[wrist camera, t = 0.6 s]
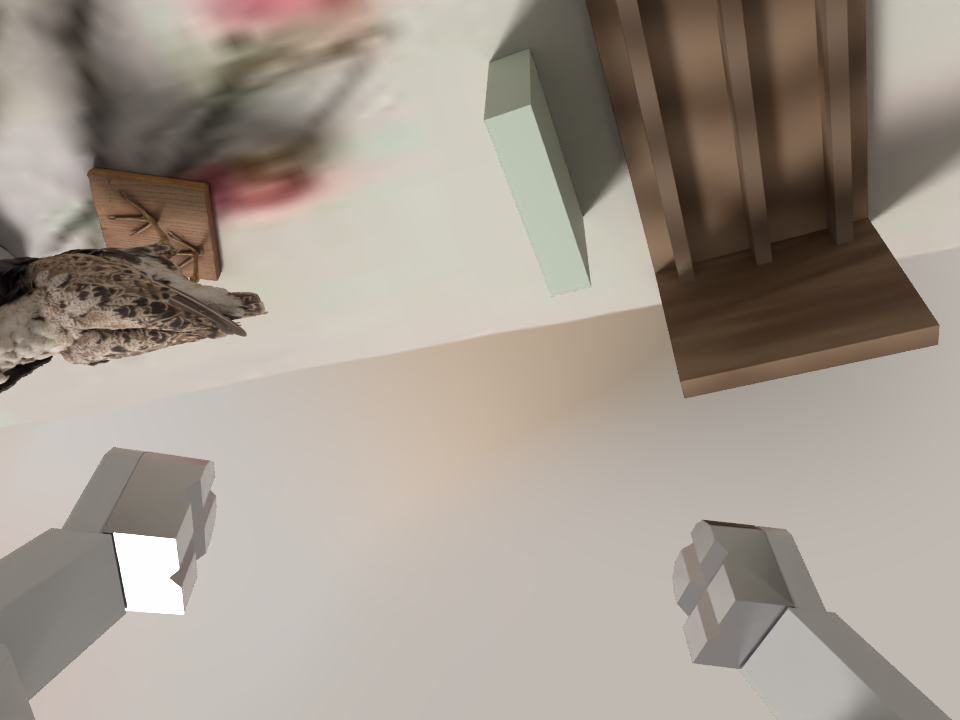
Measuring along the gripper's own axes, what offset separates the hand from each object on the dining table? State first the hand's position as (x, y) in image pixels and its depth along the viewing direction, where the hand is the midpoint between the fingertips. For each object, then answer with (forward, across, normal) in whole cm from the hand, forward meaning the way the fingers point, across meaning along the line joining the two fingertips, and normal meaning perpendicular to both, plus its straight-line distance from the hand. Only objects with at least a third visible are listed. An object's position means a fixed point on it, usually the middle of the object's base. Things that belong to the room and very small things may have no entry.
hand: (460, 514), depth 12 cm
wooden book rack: (+36, -16, 0) cm, 39 cm away
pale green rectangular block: (+37, -6, +6) cm, 38 cm away
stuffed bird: (+39, +20, +18) cm, 47 cm away
